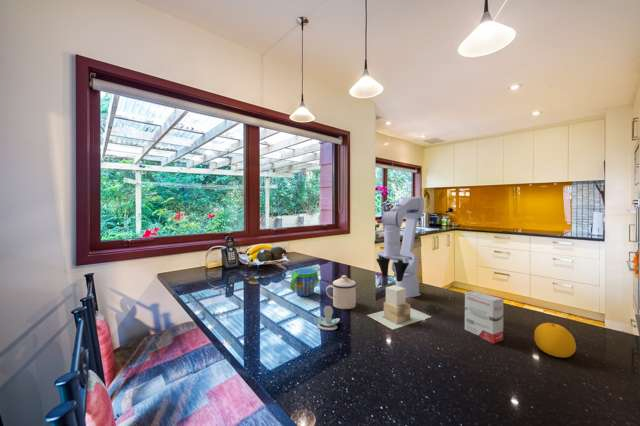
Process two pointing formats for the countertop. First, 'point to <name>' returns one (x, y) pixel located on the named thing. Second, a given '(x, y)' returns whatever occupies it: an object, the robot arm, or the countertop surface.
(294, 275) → the snack cup
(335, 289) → the teacup with lid
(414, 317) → the plate
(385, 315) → the oak block
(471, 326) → the ink box
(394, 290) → the cream block
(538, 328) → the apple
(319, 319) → the pacifier
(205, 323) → the countertop surface
